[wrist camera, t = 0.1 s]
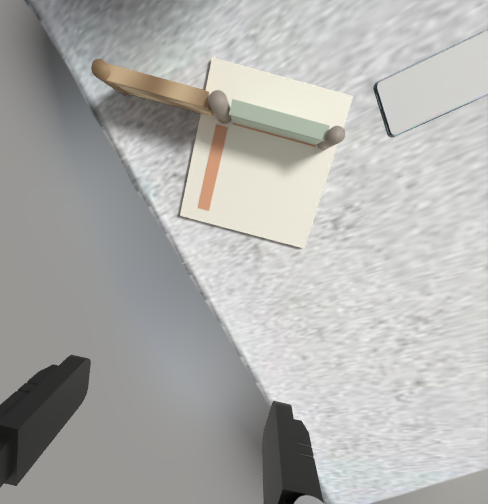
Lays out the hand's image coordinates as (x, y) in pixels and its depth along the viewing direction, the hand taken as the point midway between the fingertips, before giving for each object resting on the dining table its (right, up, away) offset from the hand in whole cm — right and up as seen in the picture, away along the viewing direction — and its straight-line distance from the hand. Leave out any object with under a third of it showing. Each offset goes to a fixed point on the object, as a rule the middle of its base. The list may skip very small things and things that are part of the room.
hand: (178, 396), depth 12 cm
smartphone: (+27, +27, +23) cm, 45 cm away
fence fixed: (+7, +22, +24) cm, 34 cm away
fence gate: (-7, +25, +23) cm, 35 cm away
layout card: (+5, +18, +25) cm, 32 cm away
